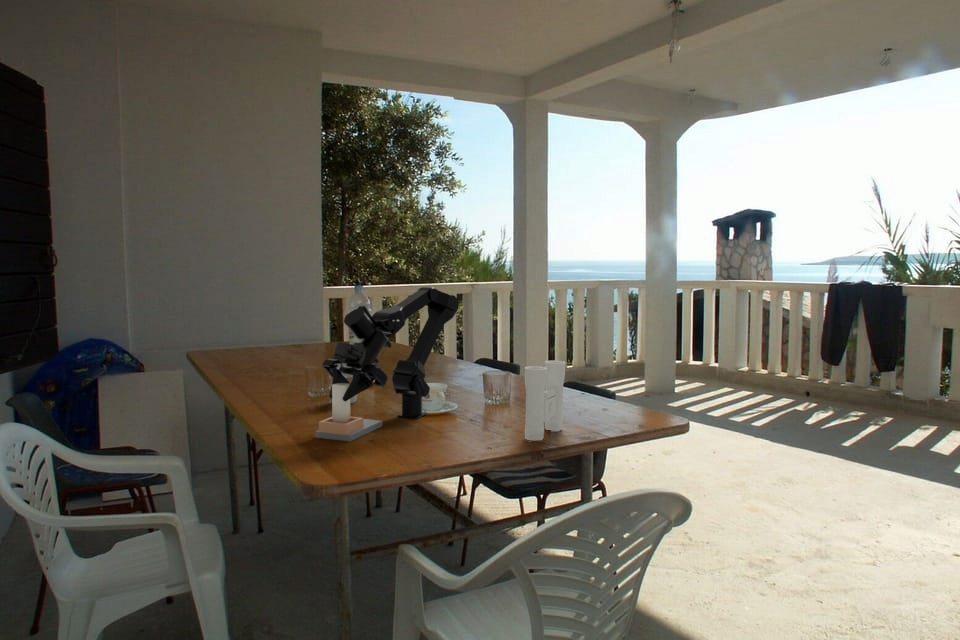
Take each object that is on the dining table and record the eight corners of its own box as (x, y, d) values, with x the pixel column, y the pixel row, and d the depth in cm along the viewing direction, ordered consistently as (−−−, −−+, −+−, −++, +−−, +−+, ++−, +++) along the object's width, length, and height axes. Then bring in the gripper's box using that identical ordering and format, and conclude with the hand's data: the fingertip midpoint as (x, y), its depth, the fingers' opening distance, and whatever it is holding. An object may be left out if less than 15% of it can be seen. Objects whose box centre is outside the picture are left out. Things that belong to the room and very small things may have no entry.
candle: (334, 421, 169) (334, 383, 168) (352, 422, 169) (351, 383, 168) (330, 426, 164) (330, 386, 163) (348, 426, 164) (347, 386, 163)
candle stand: (349, 422, 180) (349, 408, 179) (382, 426, 176) (382, 411, 176) (315, 437, 165) (315, 421, 164) (350, 441, 161) (350, 425, 161)
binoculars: (539, 443, 161) (540, 370, 160) (519, 440, 164) (520, 368, 163) (567, 428, 176) (568, 361, 175) (548, 425, 179) (549, 359, 177)
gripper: (326, 328, 173) (293, 375, 165) (379, 333, 162) (346, 384, 154) (349, 354, 180) (318, 401, 172) (400, 361, 169) (370, 411, 161)
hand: (337, 399), depth 165 cm, fingers closed on candle, 4 cm apart
